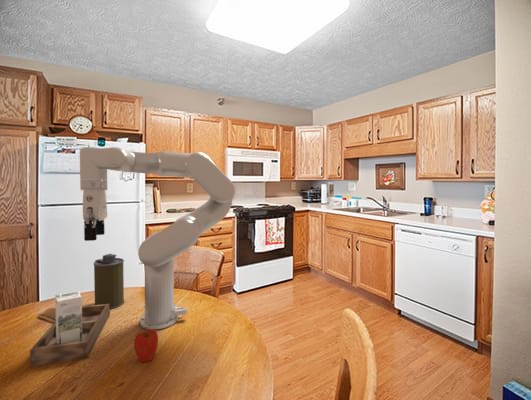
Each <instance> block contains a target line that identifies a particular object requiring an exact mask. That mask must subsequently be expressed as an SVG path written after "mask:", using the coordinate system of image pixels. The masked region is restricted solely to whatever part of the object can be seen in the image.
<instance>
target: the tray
mask: <svg viewBox="0 0 531 400" xmlns="http://www.w3.org/2000/svg"><path fill="white" fill-rule="evenodd" d="M110 313H111V309H110V304H102V305H95V304H93V305H92V304H91V305H85V306H84V305H82V341H79V342H72V343H64V344H57V343H56V322H55V323H54V322H53V324H52V325H51V326H50V327H49V328H48V329H47V330H46V332H45V333H43V335H42V336H41V337H40V338H39V340H37V342H36V343H35V344H34V345H33V346H32V347H31V348H30V349H29V357H30V359H29V361H30V362H29V363H30V367H38V366H43V365H50V364H57V363H64V362H70V361H77V360H83V359H84V360H85V359H88V358H89V357H90V354H91V352H92V350H93V348H94V347H95V345H96V343H97V341H98V339H99V337H100V335H101V334H102V333H103V332H102V331H103V330H104V327H105V325H106V324H107V321H108V320H109V318H110V317H111V314H110Z"/></svg>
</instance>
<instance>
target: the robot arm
mask: <svg viewBox="0 0 531 400" xmlns="http://www.w3.org/2000/svg"><path fill="white" fill-rule="evenodd" d="M108 170H110V171H116V172H123V173H124V172H125V173H135V174H138V173H139V174H151V175H156V176H159V177H160V176H161V177H162V176H163V177H175V178H189V179H193V181H195V182H196V184H198V185H199V186H200V187H201V188H202V190H204V191H205V193H207V195H209V199H208V200H207V201H206V202H205V203H203V204H202V205H200V206H199V207H197V208H195V209H194V210H192V211H191V212H189V213H187V214H185V215H183V216H181V217H179V218H177V219H176V220H175V221H174V222H173V223H171V224H170V225H168V226H166V227H165V228H163V229H162V230H160V231H155V232H153V233H151V234H150V235H148V236H147V237H146V238H145V239H144V241H142V242H141V244H140V245H139V248H138V251H137V252H138V254H137V255H138V259H139V261H140V262H141V263H142V264H143V265H144V315H143V316H141V317H140V320H139V325H140V327H141V328H143V329H145V330H148V329H152V330H155V331H156V330H161V329H165V328H168V327H171V326H172V325H174V324H176V323H177V322H178V320H179V316H181V315H182V316H183V315H187V314H188V309H187V308H184V306H178V307H177V306H175V305H176V304H175V303H174V301H175V300H174V298H175V297H174V290H175V289H174V288H175V286H174V285H175V284H174V282H175V281H174V280H175V278H174V277H175V272H174V271H175V270H174V269H175V266H174V265H175V258H176V257H178V256H179V255H181V254H182V253H184V252H187V250H189V249H190V248H192V247H193V246H194V245H195V244H196V243H197V242H198V240H199V239H200V236H201V235H202V234H204V233H205V232H206V231H208V230H210V229H211V228H212V227H214V226H215V225H218V224H219V223H220V222H221V221H222V220H224V219H225V217H227V215H228V213H229V212H230V209H231V208H232V204H233V201H234V200H233V199H234V197H235V195H236V186H235V185H234V183H233V182H232V180H231V179H230V178H229V177H228V176H227V175H226V174H225V173H224V172H223V171H222V170H221V169H220V168H219V167H218V166H217V165H216V164H215V162H214V161H213V160H212V159H211V157H209V156H208V155H207V154H205V153H203V152H201V151H196V152H192V153H190V152H189V153H188V152H180V151H179V152H177V151H167V150H161V151H157V152H140V151H139V152H138V151H130V150H127V149H124V148H121V147H117V146H115V147H114V146H113V147H105V148H104V147H103V148H102V147H101V148H100V147H91V146H90V147H89V146H86V147H85V146H84V147H82V148H80V149H79V181H80V182H79V185H80V188H79V189H80V191H82V193H83V194H82V219H83V224H84V225H83V239H84V241H85V242H90V241H93V242H94V241H97V239H98V238H97V236H103V235H105V233H106V232H105V231H106V230H105V219H107V218H108V204H107V194H106V191H108Z"/></svg>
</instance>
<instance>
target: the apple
mask: <svg viewBox="0 0 531 400" xmlns="http://www.w3.org/2000/svg"><path fill="white" fill-rule="evenodd" d="M133 339H134V340H133V347H134V353H135V355H136V358H137V359H138V360H139V361H141V362H143V363H147V362H150V361H151V360H153V359H154V357H155V356H156V353H157V349H158V344H159V335H158V332H157V331H156V329H155V330H152V329H145V330H142V331H140V332H138V333H136V335H135V337H134V338H133Z"/></svg>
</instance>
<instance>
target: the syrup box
mask: <svg viewBox="0 0 531 400" xmlns="http://www.w3.org/2000/svg"><path fill="white" fill-rule="evenodd" d="M54 301H55V302H54V303H55V304H54V308H55V312H56V343H57V344H64V343H72V342H79V341H82V306H83V298H82V296H81V293H80V291H79V290H73V291H69V292H64V293H61V294H55V295H54Z"/></svg>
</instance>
